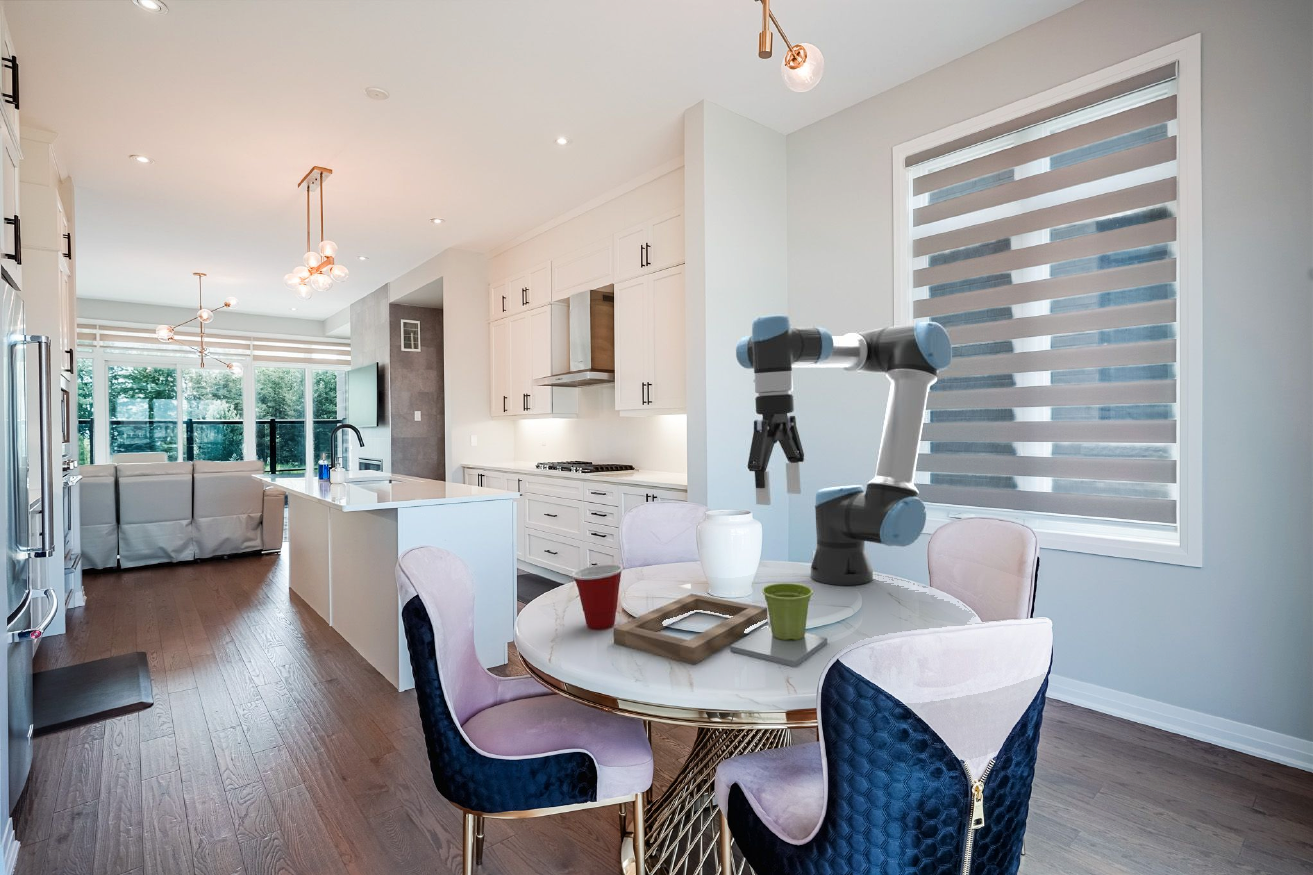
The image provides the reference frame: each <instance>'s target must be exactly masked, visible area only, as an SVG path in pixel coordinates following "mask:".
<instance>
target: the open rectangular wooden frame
mask: <svg viewBox="0 0 1313 875" xmlns="http://www.w3.org/2000/svg"><path fill="white" fill-rule="evenodd" d="M694 610H703V611H710V612H714V613H719V614H722V615H729V616H733V617H731V618H729V619H728V618H726V619H725V620H723V621H722V622H720V623H718V624H716V625H714V626H712V627H710V628H708V629H706V630H705V631H702V632H701V633H698V634H697V635H695V636H693V637H691V638H689V639H685V638H681V637H677V636H673V635H669V634H665V633H660V632H658V631H660V630H663V629H664V628H666V627H665V626H663V624H662V622H663V621H664V620H666V619H670V618H673V617H677V616H679V615H683V614H685V613H688V612H690V611H694ZM766 619H768V606H767V607H766V606H761V605H755V604H750V603H744V602H739V601H734V600H727V599H723V598H717V597H713V596H712V597H711V596H707V595H702V594H701V595H700V594H696V593H695V594H694V593H690V594H688V595H686V596H683V597H681V598H679V599H677V600H674V601H672V602H669V603H667V604H666V605H663V606H660V607H658V608H656V609H654V610H653V609H652V611H649V612H646V613H643V614H641V615H640V616H637V617H635V618H632V619H630V620H628V621H626V622H624V623H621V624H619V625H617V626H615V627H614V626H613V629H612V630H613V631H612V632H613V644H616V645H619V646H624V647H627V648H631V649H635V650H638V651H642V652H646V653H650V654H653V655H655V656H656V655H657V656H662V657H663V658H664V657H665V658H667V659H668V658H669V659H671V660H676V661H679V662H683V663H686V664H690V665H696V664H698V663H700V662H701V661H703V660H705V659H707V658H708V657H710V656H711V655H714V654H715V653H717V652H719V651H720V650H722V649H724V648H726V647H727V646H728V645H729V646H730V645H732V644H733V642H734V643H735V642H737V640H740V639H742V637H743V638H744V637H745V636H747V634H746V633H744V631H745V629H747V628H749V627H750V626H752V625H754V624H757V623H758V622H761V621H763V620H766Z"/></svg>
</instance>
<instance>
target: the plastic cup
mask: <svg viewBox="0 0 1313 875" xmlns="http://www.w3.org/2000/svg"><path fill="white" fill-rule="evenodd" d="M623 569H624V566H623V565H621V564H616V563H604V564H595V565H590V566H585V567H582V568H579V569H577V570H574V571H572V573H571V577H572V578H573V580H574V582H575V584H576V587H577V590H578V595H579V598H580V599H579V600H580V603H581V607H582V612H583V614H584V620H585V624H586V627H587V628H588V629H590V630H596V631H600V630H601V631H603V630H608V629H610V628H612V627H614V626H615V624H616V617H617V610H618V601H619V590H620V583H621V574H622V572H623Z"/></svg>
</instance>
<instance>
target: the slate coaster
mask: <svg viewBox="0 0 1313 875" xmlns="http://www.w3.org/2000/svg"><path fill="white" fill-rule="evenodd" d="M761 627H762V628H763V626H761ZM761 627H759V628H757V629H755V631H752V632H750V633H749V634H747V635H745V636H743V638H740V639H738V641H735V642H734V643H732V644H730V645H729V649H730V650H729V651H730V652H731V653H736V654H740V655H743V656H748V657H752V658H757V659H760V660H765V661H770V662H773V663H777V664H781V665H785V666H790V667H793V668H796V667H797V666H799V665H800V664H802V663H803V662H804V661H805V660H806V659H808V658H810V657H811V656H812V655H814V654H815V653H816V652H818V651H819V650H821V649H822V648H823V647H824V646H826V645H827V644H828V637H824V636H820V635H815V634H810V633H806V632H805V636H804V637H803V638H801V639H799V640H794V639H788V640H782V639H778V638H776V637H774V636H773V634H772V631H771V627H768V628H767V627H765V628H763V629H761Z"/></svg>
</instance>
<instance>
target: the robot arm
mask: <svg viewBox="0 0 1313 875" xmlns="http://www.w3.org/2000/svg"><path fill="white" fill-rule="evenodd" d="M751 326H752V327H751V334H750V335H748V336H744V337H742V338H741V339H739V340H738V342H737V344H736V347H735V357H736V360H737V362H738V364H739V365H740V366H741V367H743V368H744V369H747V370H748V369H749V370H751V369H752V370H753V373H754V377H753V378H754V379H753V384H754V390H755V393H756V394H758V395H757V396H755V398H754V399H755V401H754V402H755V412H756V414H757V415H762V419H755V420H754V421H753V435H752V439H751V444H750V451H749V456H748V462H747V469H748V470H749V472H754V483H755V484H754V486H755V504H756V505H760V506H761V505H763V506H770V505H771V485H770V484H771V482H770V471H769V470H767V469H768V466H769V462H770V460H771V456H772V452H773V449H774V447H775V444H777V443H778V442H779V445H780V447H781V449H782V451H783V453H784V455H785V457H786V459H787V462H785V472H786V474H785V476H786V493H787V494H794V495H800V494H801V493H802V492H801V491H802V490H801V476H800V475H801V472H800V470H801V469H800V463H803V462H805V452H804V449H803V445H802V441H801V438H800V434H799V431H798V428H797V421H796V416H795V415H788V414H791V413H793V412H794V411H795V403H794V395H793V394H792V393H791V392H793V391H794V380H793V368H842V369H843V370H845V371H847V372H860V373H861V372H862V373H871V374H872V373H873V374H885V376H886V378H887V379H888V380H889V381H890V388H889V393H888V399H887V405H886V411H885V418H884V422H883V423H884V424H883V430H882V435H881V441H880V447H879V453H878V457H877V459H878V460H877V464H876V470H875V475H874V478H872V479H871V480H870V481H869V482H867V483H866V489H864V486H863V485H860V484H856V485H855V484H854V485H853V484H852V485H844V486H840V485H839V486H833V487H825V488H822V489H819V490H818V491H817V492H816V494H815V505H814V509H815V510H814V511H815V527H816V528H815V531H816V550H815V552H814V556H813V559H812V562H811V566H810V578H811V579H812V580H814V581H816V582H819V583H822V584H823V583H824V584H827V585H828V584H829V585H837V586H854V585H862V584H867V583H869V582H871V581H873V579H874V576H873V575H874V572H873V567H872V564H871V561H870V559H869V556H868V553H867V551H866V546H865V543H866V542H867V543H868V542H869V543H873V544H874V543H875V544H881V545H884V546H888V547H900V548H901V547H902V548H903V547H908V546H911V545H912V544H914V543H915V541H917V540H918V539H919V538H920V536H921V535H922V533H923V531H924V528H925V525H926V521H927V511H926V505H925V503H924V502H923V501H922V499H920V498H919V493H920V492H919V490H918V489H917V487H916V486H915V485H914V481H915V476H916V475H915V473H916V468H917V464H918V462H917V461H918V455H919V452H920V451H919V449H920V444H921V438H922V432H923V431H922V430H923V425H924V421H925V420H924V419H925V413H926V407H927V402H928V401H927V400H928V395H929V390H930V386H933V385H934V384H935V383H936V382H937V381H938V375H939V372H940V371H943V370H946V369H948V367H949V365H950V364H951V363H952V362H951V361H952V359H953V358H952V357H953V348H952V342H951V339H950V336H949V334H948V332H947V331H946V329H945V328H944V327H943V325H941V324H940V323H938V322H935V321H927V322H926V321H925V322H922V321H919V322H916V323H909V324H904V325H903V324H902V325H896V326H888V327H881V328H876V329H872V330H871V329H870V330H868V331H862V332H850V333H846V334H844V335H843V336H835V335H833V336H832V334H831V332H830V331H829V330H828V329H826V328H824V327H817V326H809V327H808V326H797V327H796V326H794V327H793V326H792V325H791V323H790V318H789V316H787V315H784V314H773V315H772V314H771V315H763V316H758V317H756V318H755V319H753V320H752V323H751Z"/></svg>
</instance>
